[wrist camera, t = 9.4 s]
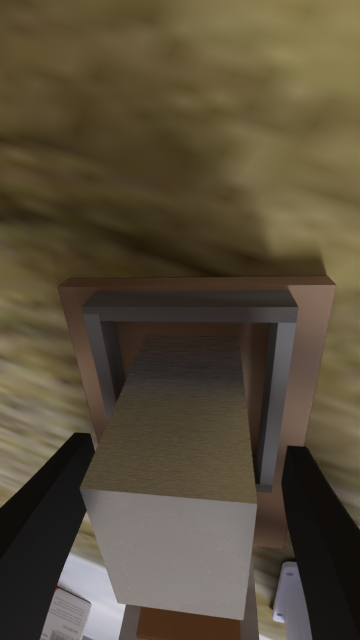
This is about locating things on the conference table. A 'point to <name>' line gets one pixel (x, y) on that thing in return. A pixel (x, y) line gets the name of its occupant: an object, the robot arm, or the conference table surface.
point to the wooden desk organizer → (259, 381)
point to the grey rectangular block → (177, 479)
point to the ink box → (66, 617)
